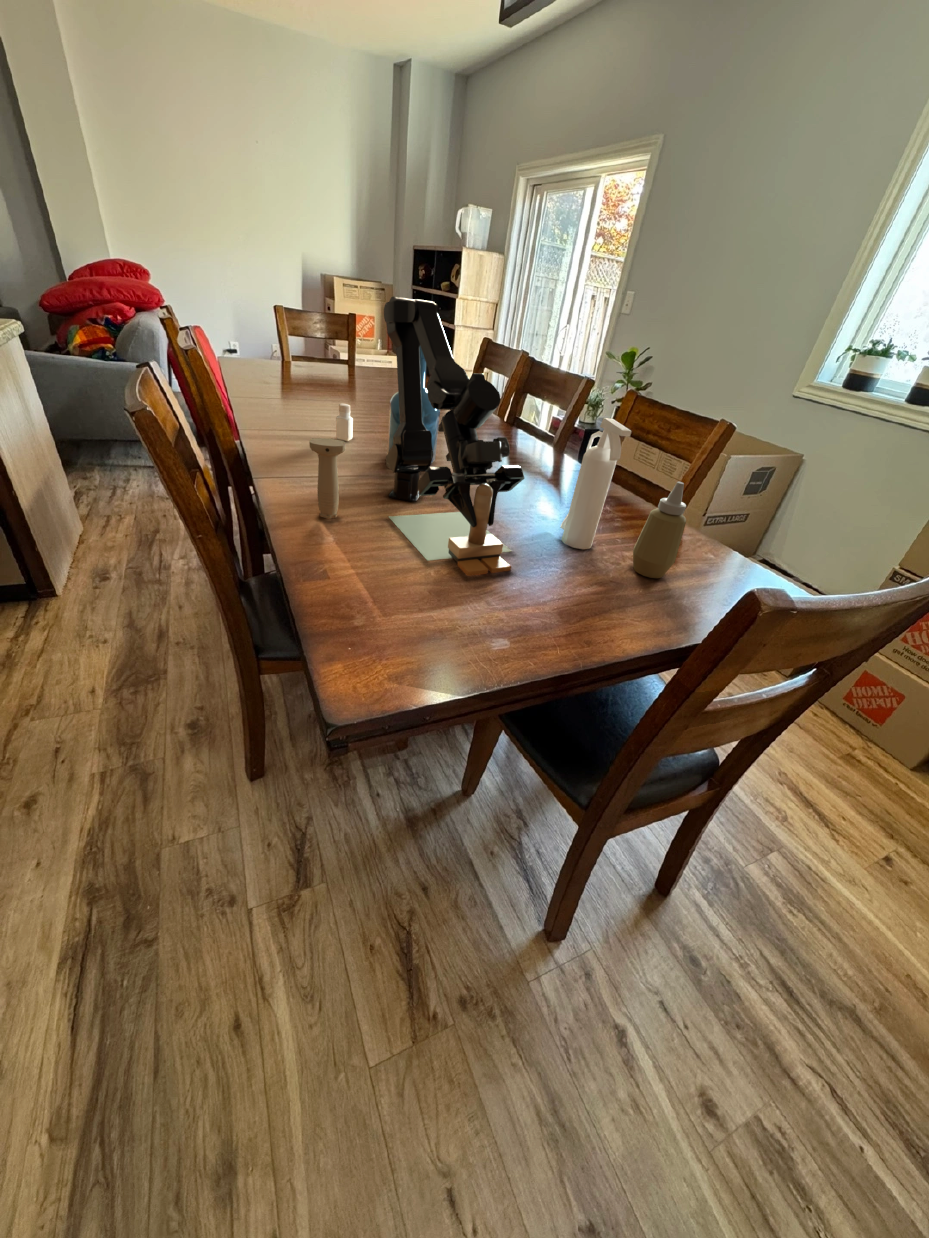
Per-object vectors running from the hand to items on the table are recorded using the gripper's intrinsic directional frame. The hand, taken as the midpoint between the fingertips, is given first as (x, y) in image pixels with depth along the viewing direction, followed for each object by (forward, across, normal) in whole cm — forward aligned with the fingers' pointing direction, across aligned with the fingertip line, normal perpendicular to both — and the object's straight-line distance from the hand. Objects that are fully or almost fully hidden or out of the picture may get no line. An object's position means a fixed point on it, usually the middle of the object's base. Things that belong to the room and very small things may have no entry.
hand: (483, 525), depth 89 cm
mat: (-3, 0, +14) cm, 14 cm away
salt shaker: (-51, -1, +63) cm, 81 cm away
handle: (-12, -20, +23) cm, 33 cm away
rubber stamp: (+4, 0, +6) cm, 7 cm away
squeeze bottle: (+13, +33, -2) cm, 36 cm away
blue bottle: (-37, +12, +48) cm, 62 cm away
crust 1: (+7, -2, +4) cm, 8 cm away
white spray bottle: (+2, +27, +9) cm, 28 cm away
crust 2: (+7, +2, +4) cm, 8 cm away
